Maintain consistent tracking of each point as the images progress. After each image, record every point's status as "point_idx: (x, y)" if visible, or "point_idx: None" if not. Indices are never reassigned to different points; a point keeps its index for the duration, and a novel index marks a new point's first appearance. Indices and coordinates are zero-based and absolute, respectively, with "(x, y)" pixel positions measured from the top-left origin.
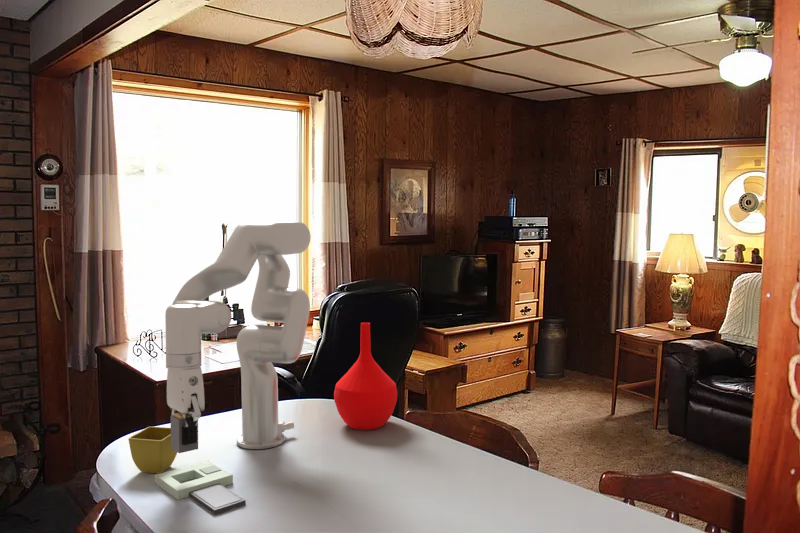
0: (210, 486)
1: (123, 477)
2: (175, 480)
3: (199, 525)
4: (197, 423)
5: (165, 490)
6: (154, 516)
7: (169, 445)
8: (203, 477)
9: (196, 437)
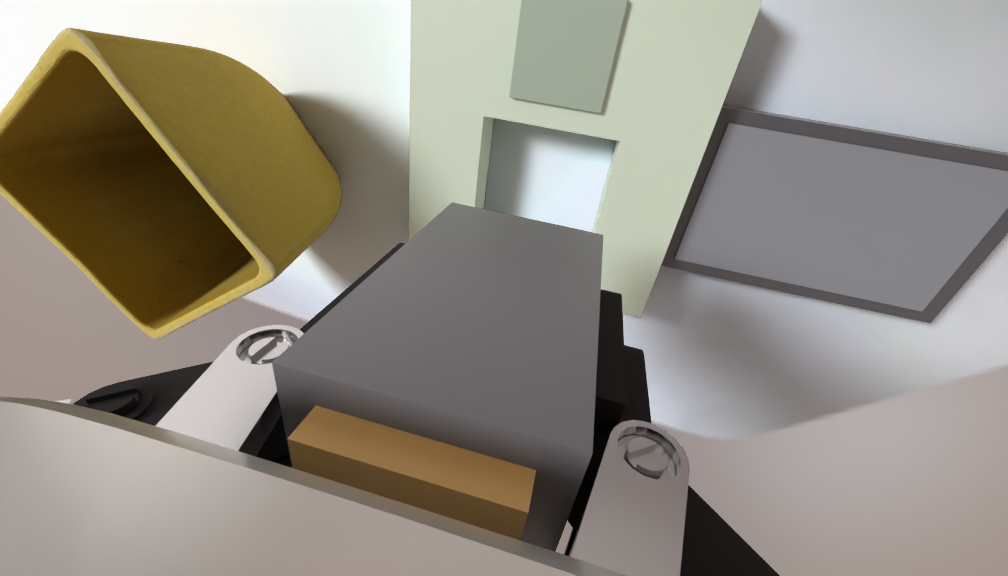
0: (704, 164)
1: (295, 276)
2: None
3: (904, 387)
4: (688, 463)
5: None
6: (674, 405)
7: (252, 167)
8: (621, 152)
9: (620, 315)
